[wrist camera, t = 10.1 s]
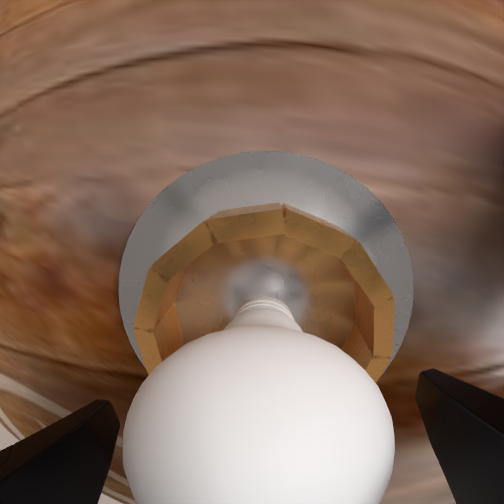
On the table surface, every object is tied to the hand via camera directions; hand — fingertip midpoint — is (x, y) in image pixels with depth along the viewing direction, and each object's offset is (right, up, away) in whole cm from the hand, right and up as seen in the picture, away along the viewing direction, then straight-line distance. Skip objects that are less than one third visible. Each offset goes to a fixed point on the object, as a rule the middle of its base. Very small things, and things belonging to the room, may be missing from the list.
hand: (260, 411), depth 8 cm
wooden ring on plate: (0, +2, +7) cm, 7 cm away
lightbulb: (0, +1, +6) cm, 7 cm away
